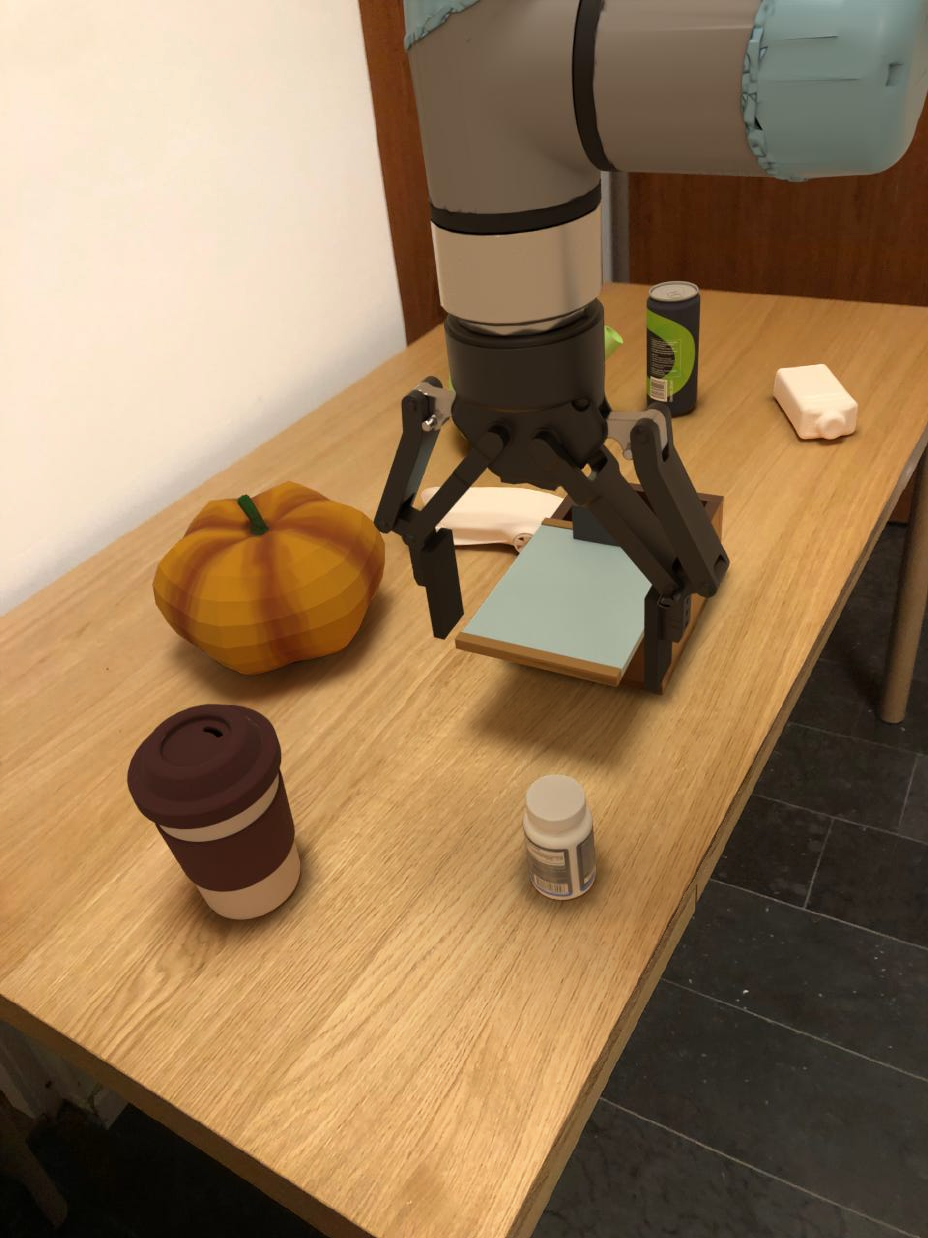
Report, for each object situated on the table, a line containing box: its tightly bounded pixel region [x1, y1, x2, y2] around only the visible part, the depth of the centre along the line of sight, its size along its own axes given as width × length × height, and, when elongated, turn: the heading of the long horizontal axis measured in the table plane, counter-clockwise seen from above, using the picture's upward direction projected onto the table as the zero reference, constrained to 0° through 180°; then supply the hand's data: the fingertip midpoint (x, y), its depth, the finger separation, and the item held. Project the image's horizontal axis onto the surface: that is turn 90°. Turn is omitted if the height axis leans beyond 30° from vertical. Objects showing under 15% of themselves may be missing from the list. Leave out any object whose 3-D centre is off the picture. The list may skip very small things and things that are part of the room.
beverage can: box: [645, 280, 702, 417], centre depth 117 cm, size 6×6×15 cm
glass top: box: [454, 502, 652, 688], centre depth 77 cm, size 13×18×4 cm
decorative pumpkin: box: [151, 480, 386, 676], centre depth 90 cm, size 20×22×15 cm
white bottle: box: [772, 363, 859, 440], centre depth 113 cm, size 6×13×4 cm, turn 1°
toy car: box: [420, 486, 564, 554], centre depth 103 cm, size 18×8×4 cm, turn 71°
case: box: [550, 476, 725, 696], centre depth 87 cm, size 14×18×9 cm
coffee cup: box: [126, 703, 301, 920], centre depth 67 cm, size 10×10×15 cm
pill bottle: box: [522, 773, 597, 901], centre depth 66 cm, size 5×5×8 cm
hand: (548, 650), depth 58 cm, fingers open, 13 cm apart
